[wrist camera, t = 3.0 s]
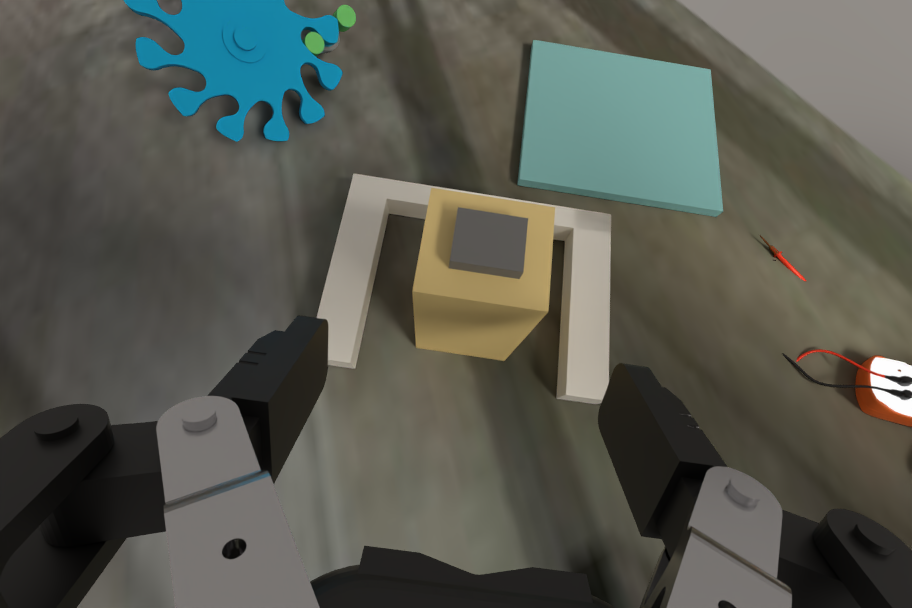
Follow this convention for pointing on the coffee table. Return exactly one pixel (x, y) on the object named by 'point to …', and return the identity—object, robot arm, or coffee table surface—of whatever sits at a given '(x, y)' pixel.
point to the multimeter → (873, 379)
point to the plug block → (481, 273)
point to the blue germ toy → (246, 56)
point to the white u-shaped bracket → (379, 197)
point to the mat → (620, 129)
